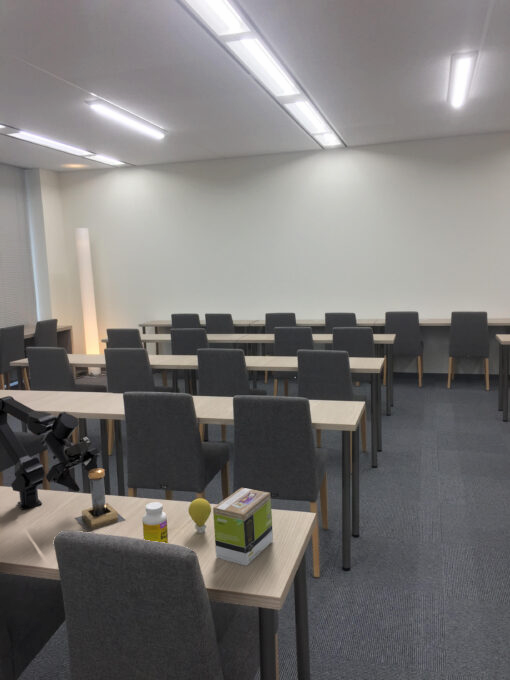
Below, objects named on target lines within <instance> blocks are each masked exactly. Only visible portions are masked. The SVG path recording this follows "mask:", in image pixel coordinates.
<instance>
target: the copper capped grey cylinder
mask: <svg viewBox="0 0 510 680" xmlns="http://www.w3.org/2000/svg"><path fill="white" fill-rule="evenodd" d="M105 471H106V470H105V469H104V468H101V467H98V468H96V469H92V470H90V471H89V472H87V473H88V474H87V475H88V478H89V479H90V481H89V484H90V493H91V506H92V507H91V508H93V517H96V516H100V515H103V514H106V504H107V503H106V502H107V501H106V492H105V491H106V490H105V479H104V477H105V476H106V473H105Z"/></svg>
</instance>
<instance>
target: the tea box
mask: <svg viewBox="0 0 510 680" xmlns="http://www.w3.org/2000/svg"><path fill="white" fill-rule="evenodd" d="M271 495H272V494H271V492H268V491H263V490H255V489H251V488H245V487H240V488H239V489H237V490H236V491H235V492H233V493H232V494H231V495H229V496H228V497H226V498H224V499H223V500H222V501H221V502H219V503H218V504H216V505H215V506H213V507H212V508H213V511H212V513H213V527H214V528H213V529H214V540H215V541H214V543H215V545H214V546H215V557H216V558H218V559H220V560H224V561H227V562H230V563H233V564H234V563H235V564H238V565H242V566H247V565H249V564H250V563H251V562H252V561H253V560H254V559H255V558H257V557H258V555H260V554H261V553H262V552H263V550H265V549H266V548H268V546H269V545H270V544H271V543H272V542H273V541H274V533H273V532H274V531H273V514H272V500H271V499H272V498H271V497H272V496H271Z"/></svg>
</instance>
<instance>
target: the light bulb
mask: <svg viewBox="0 0 510 680" xmlns="http://www.w3.org/2000/svg"><path fill="white" fill-rule="evenodd" d="M211 512H212V507H211V504H210V502H209V500H207V499H205V498H195V499H194V500H192V502H190V504H189V507H188V514H189V516H190V518H191V519H192V521H193V522H194V523H195V526H194V529H195V530H196V533H198V534H203V533H205V531H206V529H207V523H206V522H207V521H208V520H209V517H210V515H211Z"/></svg>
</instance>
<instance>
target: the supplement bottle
mask: <svg viewBox="0 0 510 680" xmlns="http://www.w3.org/2000/svg"><path fill="white" fill-rule="evenodd" d="M163 507H164V506H163V503H162V502H157V501H154V502H149V503H148V504H146V505H145V514H144V515H143V516H142V533H143V534H142V535H143V540H144V539H145V540H150V541H158V542H165V543H168V544H169V535H168V534H169V532H168V517H167V514H166V512H164V511H163V510H164V508H163Z"/></svg>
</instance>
